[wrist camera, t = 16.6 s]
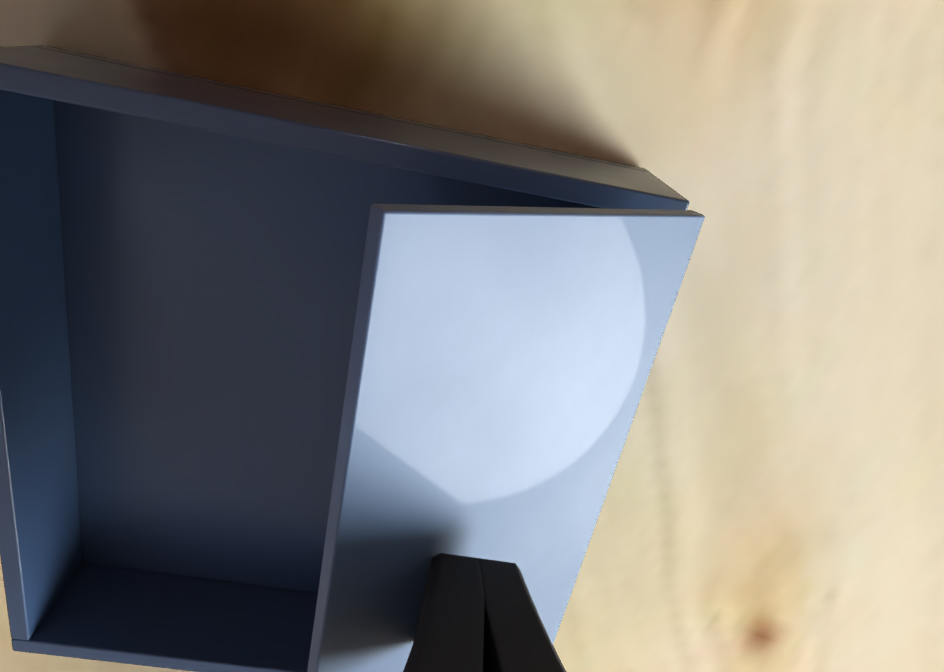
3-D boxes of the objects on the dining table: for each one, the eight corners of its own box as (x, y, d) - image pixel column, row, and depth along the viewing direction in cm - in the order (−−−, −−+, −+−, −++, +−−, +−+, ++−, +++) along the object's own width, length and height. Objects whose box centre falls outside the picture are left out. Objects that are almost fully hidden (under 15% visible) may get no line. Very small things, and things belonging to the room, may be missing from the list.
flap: (690, 209, 10) (706, 215, 10) (513, 725, 16) (521, 735, 15) (369, 202, 7) (384, 211, 7) (279, 866, 12) (285, 882, 12)
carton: (646, 168, 13) (691, 201, 11) (508, 616, 19) (517, 709, 16) (40, 44, 12) (-69, 49, 10) (76, 561, 17) (12, 651, 15)
